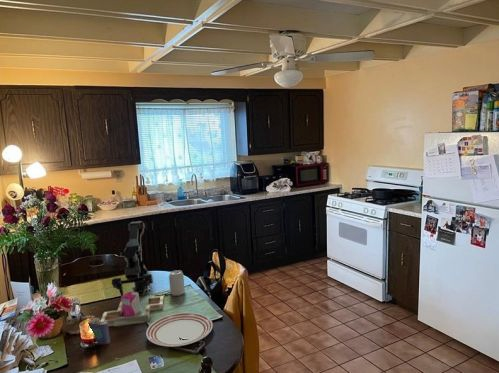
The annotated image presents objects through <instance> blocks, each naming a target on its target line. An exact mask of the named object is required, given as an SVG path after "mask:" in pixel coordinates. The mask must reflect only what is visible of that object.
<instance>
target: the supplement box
mask: <svg viewBox="0 0 499 373" xmlns="http://www.w3.org/2000/svg"><path fill="white" fill-rule="evenodd" d="M120 301H122V307H123V311H122V315H123V317H130V316H137V315H141V314H142V310H141V309H142V308H141V300H140V296H139V292H137V291H135V292H134V291H128V292H126V293H125V294H123V296H121V295H120Z"/></svg>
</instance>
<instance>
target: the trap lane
mask: <svg viewBox="0 0 499 373" xmlns="http://www.w3.org/2000/svg"><path fill="white" fill-rule="evenodd" d="M147 299H148V300H147V301H148V304H146V307H145V308H146V309H145V313H141V315H137V316H130V317H124V316H122V315H123V307H122V300H120V302H119V305H118V308H117V310H110V311H104V312H103V314H102V317H101V318H100V321H101V322H108V327H121V326H127V325H134V324H141V323H149V322H148V321H149V320H150V316H151V311H150V310H152V311H157V309H159V310H164V302H165V300H164V299H165V298H164V295H157V296H148V298H147Z"/></svg>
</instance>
